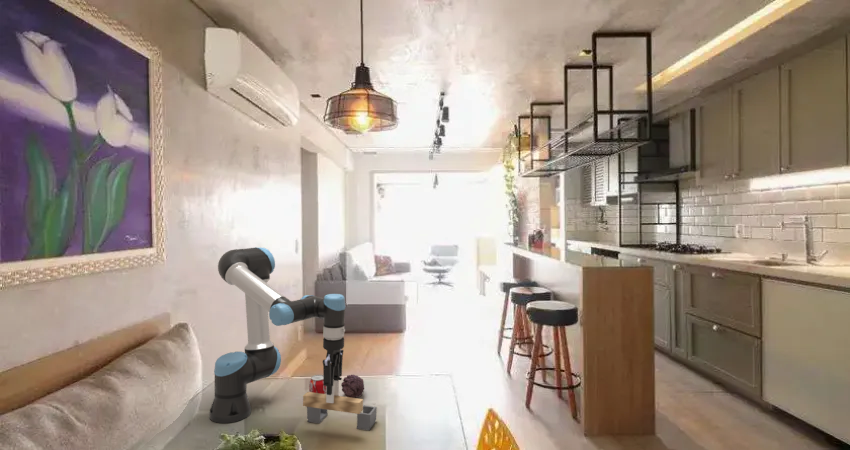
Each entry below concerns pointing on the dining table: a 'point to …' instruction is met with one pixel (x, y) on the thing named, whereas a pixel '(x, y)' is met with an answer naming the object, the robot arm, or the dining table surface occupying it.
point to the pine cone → (352, 386)
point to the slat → (339, 403)
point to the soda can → (317, 384)
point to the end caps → (363, 419)
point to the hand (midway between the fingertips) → (332, 400)
